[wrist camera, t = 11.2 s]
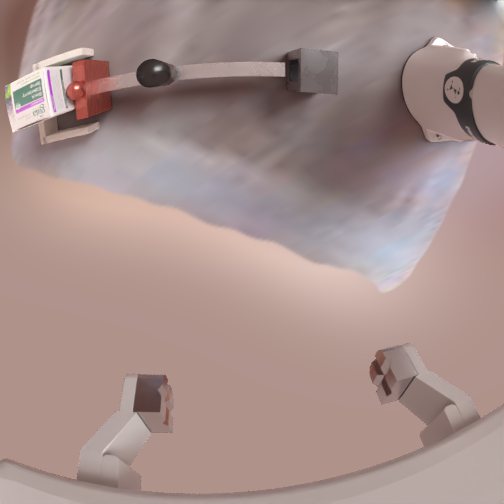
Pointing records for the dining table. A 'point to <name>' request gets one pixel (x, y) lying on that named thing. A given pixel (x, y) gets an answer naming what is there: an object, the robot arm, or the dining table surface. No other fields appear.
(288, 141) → the dining table surface
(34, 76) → the syrup box
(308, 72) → the grey hollow block
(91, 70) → the linear slider rail
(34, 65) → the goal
